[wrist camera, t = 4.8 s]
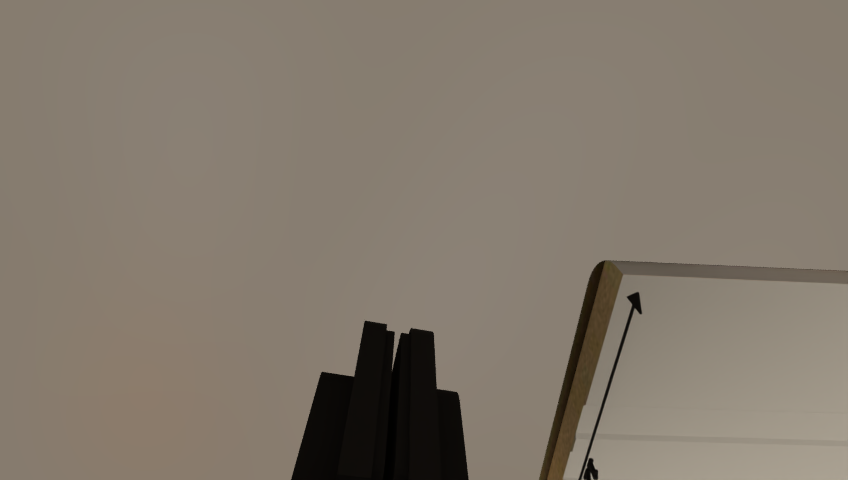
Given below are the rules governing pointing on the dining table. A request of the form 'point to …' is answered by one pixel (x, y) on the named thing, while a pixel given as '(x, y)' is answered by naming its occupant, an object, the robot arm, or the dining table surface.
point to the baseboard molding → (705, 376)
